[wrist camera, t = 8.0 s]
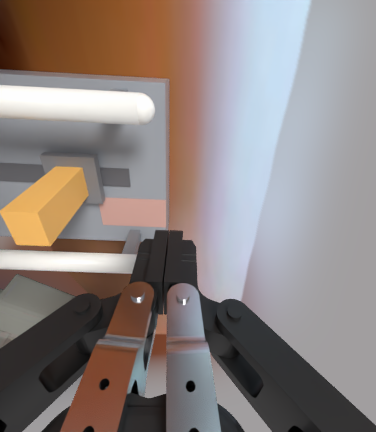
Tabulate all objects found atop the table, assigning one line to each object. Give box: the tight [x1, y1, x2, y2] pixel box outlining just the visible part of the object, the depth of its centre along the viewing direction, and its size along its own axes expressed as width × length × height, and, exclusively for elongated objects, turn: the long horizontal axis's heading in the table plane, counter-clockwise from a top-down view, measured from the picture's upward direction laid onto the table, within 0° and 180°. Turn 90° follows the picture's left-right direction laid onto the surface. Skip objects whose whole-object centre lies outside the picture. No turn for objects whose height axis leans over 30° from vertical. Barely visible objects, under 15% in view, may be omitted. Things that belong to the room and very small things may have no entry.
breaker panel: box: [0, 69, 169, 274], centre depth 18 cm, size 14×22×9 cm, turn 87°
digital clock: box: [0, 274, 76, 348], centre depth 30 cm, size 16×9×11 cm, turn 42°
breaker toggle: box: [0, 152, 105, 246], centre depth 16 cm, size 4×4×7 cm
